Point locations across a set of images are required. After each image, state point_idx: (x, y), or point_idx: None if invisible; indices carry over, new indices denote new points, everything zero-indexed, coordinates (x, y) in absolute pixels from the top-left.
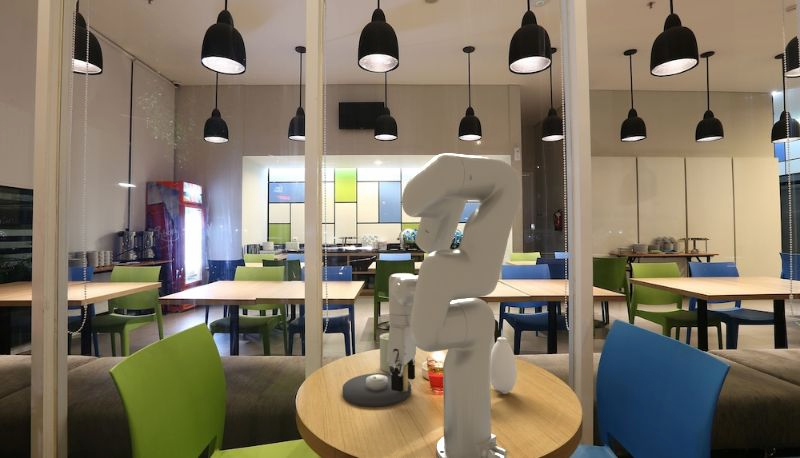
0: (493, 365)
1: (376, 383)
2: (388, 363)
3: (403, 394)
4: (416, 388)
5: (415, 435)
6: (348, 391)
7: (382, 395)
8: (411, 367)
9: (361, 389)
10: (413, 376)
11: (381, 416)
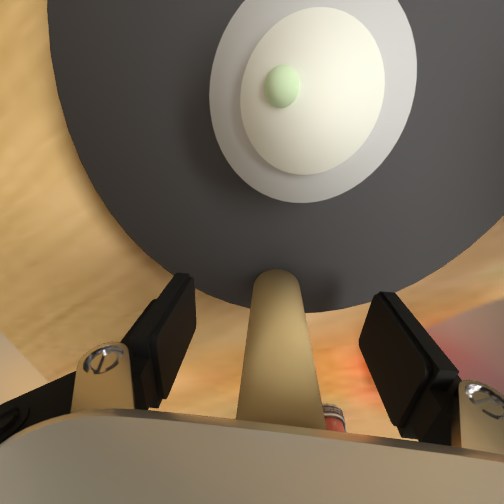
0: None
1: (218, 141)
2: (26, 428)
3: (229, 300)
4: (419, 283)
5: (80, 343)
6: None
7: (176, 207)
8: (393, 403)
9: (200, 4)
10: (363, 356)
11: (116, 221)
